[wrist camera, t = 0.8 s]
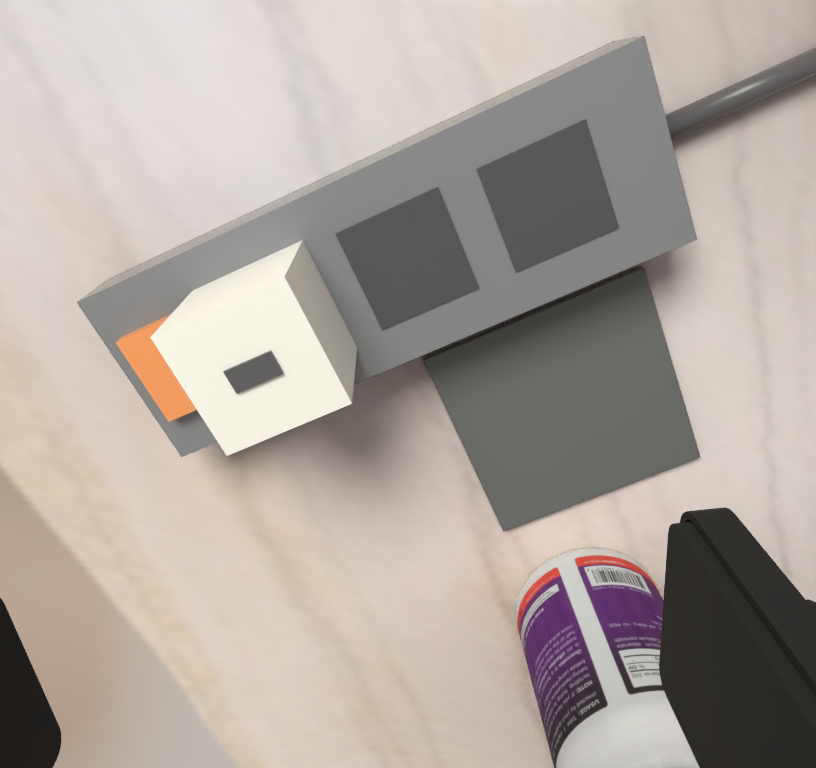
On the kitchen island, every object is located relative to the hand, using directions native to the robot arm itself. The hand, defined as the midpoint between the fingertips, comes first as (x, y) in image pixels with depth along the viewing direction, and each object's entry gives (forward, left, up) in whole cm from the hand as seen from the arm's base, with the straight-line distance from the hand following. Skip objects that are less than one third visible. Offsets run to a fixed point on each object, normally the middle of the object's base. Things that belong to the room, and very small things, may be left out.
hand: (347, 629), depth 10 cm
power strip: (-7, 0, -23) cm, 24 cm away
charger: (+4, 0, -20) cm, 20 cm away
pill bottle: (-3, +23, -23) cm, 33 cm away
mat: (-6, +11, -23) cm, 26 cm away
